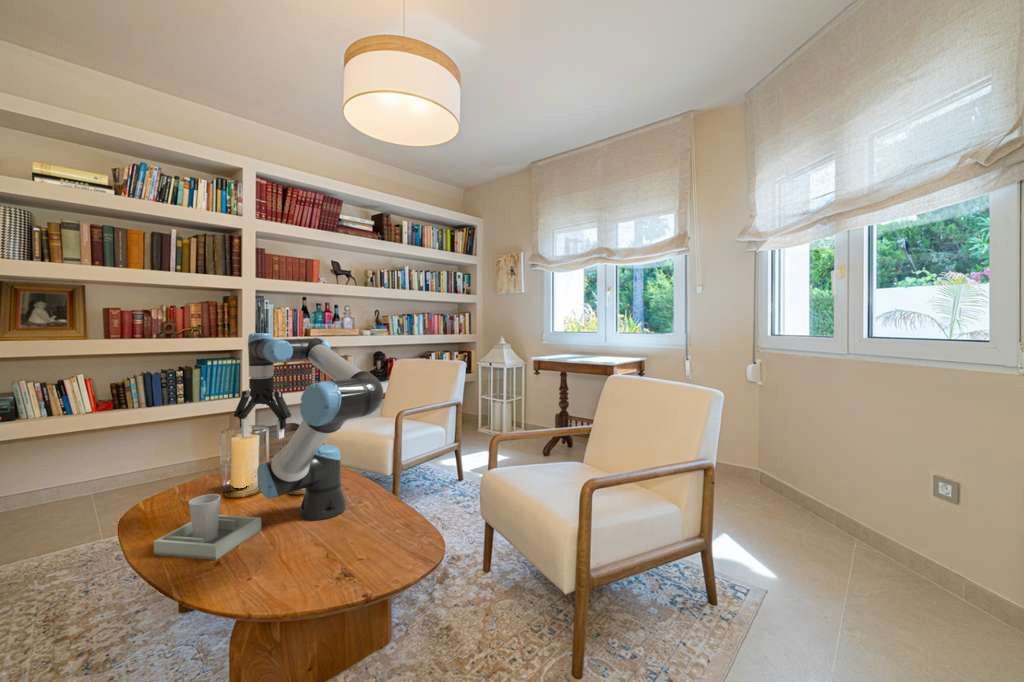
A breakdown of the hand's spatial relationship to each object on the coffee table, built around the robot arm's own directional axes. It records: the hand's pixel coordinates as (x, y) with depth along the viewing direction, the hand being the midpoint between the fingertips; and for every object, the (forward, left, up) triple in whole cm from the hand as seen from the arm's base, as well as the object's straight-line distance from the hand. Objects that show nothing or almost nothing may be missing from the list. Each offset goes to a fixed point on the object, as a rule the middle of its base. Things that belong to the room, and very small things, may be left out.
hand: (263, 437), depth 152 cm
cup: (+4, +21, -26) cm, 33 cm away
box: (+2, +21, -27) cm, 34 cm away
